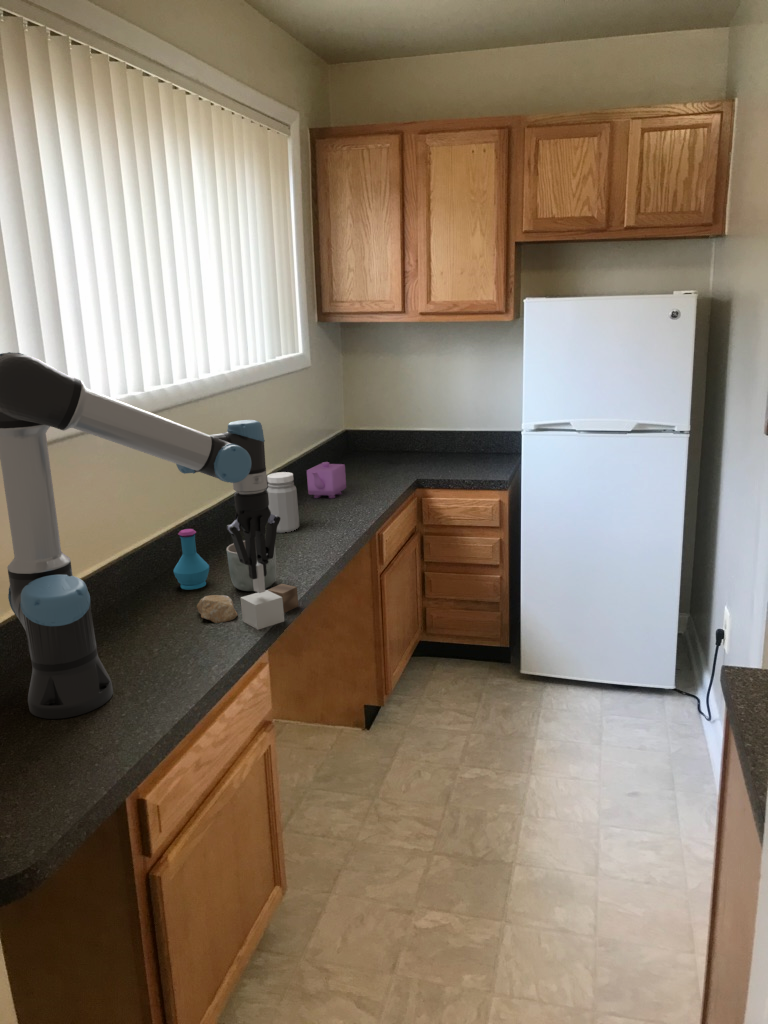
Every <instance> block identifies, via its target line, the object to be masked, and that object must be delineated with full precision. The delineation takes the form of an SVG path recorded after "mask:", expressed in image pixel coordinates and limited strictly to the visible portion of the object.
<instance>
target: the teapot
mask: <svg viewBox="0 0 768 1024" xmlns="http://www.w3.org/2000/svg"><path fill="white" fill-rule="evenodd" d="M306 479H307V482H306V483H307V491H308V494H307V495H309V496H313V498H314V499H317V498H318V499H319V498H321V497H322V496H328V499H336V495H337V496H338V495H339V496H340V495H342V494H343V493H342V492H343V491H345V489H347V480H346V479H347V477H346V465H345V463H344V464H342V463H330V462H328V461H324V462H321V463H318V464H317V465H315V466H313V467H311V468H309V469H306Z"/></svg>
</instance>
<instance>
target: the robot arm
mask: <svg viewBox="0 0 768 1024" xmlns="http://www.w3.org/2000/svg"><path fill="white" fill-rule="evenodd" d="M50 428H55V429H58V430H60V431H67V430H69V429H75V430H78V431H80V432H83V433H87V434H89V435H93V436H95V437H98V438H100V439H104V440H106V441H109V442H112V443H115V444H119V445H122V446H124V447H127V448H130V449H133V450H136V451H138V452H141V453H144V454H147V455H150V456H153V457H155V458H159V459H160V460H161V459H162V460H164V461H167V462H171V463H174V464H176V467H177V469H178V471H179V472H181V473H182V474H184V475H185V474H196V473H201V474H203V475H207V476H210V477H213V478H215V479H219V480H220V481H222V482H224V483H231V484H232V487H233V491H235V492H234V494H233V497H234V500H233V501H234V508H235V512H236V513H235V515H234V521H233V522H232V523H231V524H227V525H226V526H225V529H226V531H228V533H229V534H230V536H231V539H232V542H233V543H234V545H235V548H236V551H237V554H238V557H239V560H240V562H241V563H243V564H245V565H248V568H249V577H250V578H251V579H253V589H254V591H253V592H255V593H262V592H265V590H266V589H265V582H264V576H266V575H267V570H266V564H268V562H269V561H267V560H269V559H272V558H273V555H274V548H275V549H276V539H277V533H276V532H277V526H278V524H279V522H280V517H279V516H275V515H273V514H271V511H270V510H269V507H268V506H269V498H268V491H267V488H268V480H267V475H268V474H267V466H266V453H265V452H266V451H265V436H264V429H263V425H262V423H261V422H260V421H258V420H254V419H243V420H240V419H239V420H233V421H231V422H229V423H228V424H227V430H226V432H222V433H213V434H207V433H205V432H203V431H200V430H197V429H195V428H192V427H189V426H187V425H184V424H181V423H179V422H176V421H173V420H171V419H168V418H165V417H163V416H160V415H158V414H155V413H153V412H150V411H147V410H144V409H143V408H138V407H136V406H134V405H131V404H129V403H126V402H123V401H122V400H121V401H120V400H118V399H117V398H116V399H115V398H112V397H111V396H107V395H105V394H102V393H100V392H96V391H94V390H92V389H89V388H88V387H86V385H85V383H84V381H83V380H82V379H78V378H75V377H74V376H71V375H68V374H66V373H64V372H62V371H61V370H58V369H56V368H55V367H54V366H51V365H50V364H47V362H44V361H42V360H41V359H39V358H37V357H35V356H32V355H28V354H24V353H22V352H5V353H3V352H2V353H0V467H1V473H2V479H3V488H4V494H5V500H6V506H7V507H6V508H7V514H8V521H9V528H10V530H9V531H10V534H11V536H10V537H11V542H12V550H13V556H14V557H13V559H12V560H11V561H10V563H9V564H8V565H7V567H6V568H7V574H8V581H9V587H8V595H7V597H8V598H7V599H8V603H9V607H10V609H11V611H12V612H13V614H14V615H15V616H16V617H17V619H18V620H19V622H20V624H21V625H22V627H23V629H24V630H25V634H26V637H27V638H26V639H27V645H28V651H29V655H30V661H31V666H32V668H31V669H32V671H31V672H32V673H31V678H30V683H29V687H28V688H29V689H28V695H27V704H28V709H29V712H30V714H31V715H33V716H35V717H37V718H41V719H46V720H47V719H48V720H50V719H51V720H52V719H53V720H58V719H67V718H72V717H77V716H80V715H85V714H87V713H90V712H93V711H94V710H96V709H98V708H100V707H102V706H104V705H105V704H106V703H108V701H110V700H111V698H112V697H113V695H114V689H113V683H112V678H111V677H110V675H109V674H108V672H107V670H106V668H105V666H104V664H103V662H102V661H101V659H100V657H99V655H98V647H97V641H96V634H95V627H94V622H93V621H94V620H93V614H92V608H91V607H92V606H91V596H90V595H91V594H90V593H89V591H88V587H87V584H86V582H85V581H84V580H82V579H81V578H79V577H78V576H75V575H73V568H72V562H71V558H70V556H68V555H66V554H65V553H63V551H62V547H61V540H60V531H59V523H58V516H57V510H56V501H55V500H56V499H55V493H54V486H53V479H52V478H53V476H52V470H51V463H50V455H49V454H50V453H49V448H48V447H49V446H48V441H47V431H48V430H49V429H50ZM240 528H241V529H242V533H243V536H244V540H243V537H242V533H241V532H240V531H241V529H240ZM243 541H245V546H246V549H245V546H244V543H243ZM255 544H256V546H255ZM256 555H257V558H256ZM257 561H258V562H257Z"/></svg>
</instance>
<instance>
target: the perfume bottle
mask: <svg viewBox="0 0 768 1024" xmlns="http://www.w3.org/2000/svg"><path fill="white" fill-rule="evenodd" d="M196 534H197V531H196V530H194V528H185V529H181V530H180V531H179V532H177V535H179V539H180V543H181V544H180V545H181V550H182V551H181V553H182V554H181V557H180V558H179V560H178V562H177V563H176V565H175V566H174V568H173V575H174V577H175V578H176V579H177V582H178V584H180V588H181V589H182V590H186V591H187V590H188V591H190V590H191V591H192V590H198V589H201V588H203V587H205V586H206V585H207V582H206V580H207V579H208V576H209V572H210V564H208V563H207V561H205V560H204V558H203V557H201V556H200V554H199V553H197V547H196Z"/></svg>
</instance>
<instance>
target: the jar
mask: <svg viewBox="0 0 768 1024" xmlns="http://www.w3.org/2000/svg"><path fill="white" fill-rule="evenodd" d="M266 475H267V488H266V490H267V491H268V498H269V506H268V507H269V510H270V511H271V514H273V515H275V516H279V517H280V522H279V524H278V526H277V532H276V534H277V533H278V534H279V533H280V534H285V532H287V533H291V531H292V532H295V531H297V530H298V528H299V527H300V517H299V505H298V502H299V501H298V493H297V487H296V485H295V482H294V473H293V472H289V471H287V472H286V471H281V472H280V471H279V472H273V473H270V474H269V473H268V474H266ZM296 529H297V530H296ZM294 530H295V531H294Z"/></svg>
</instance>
